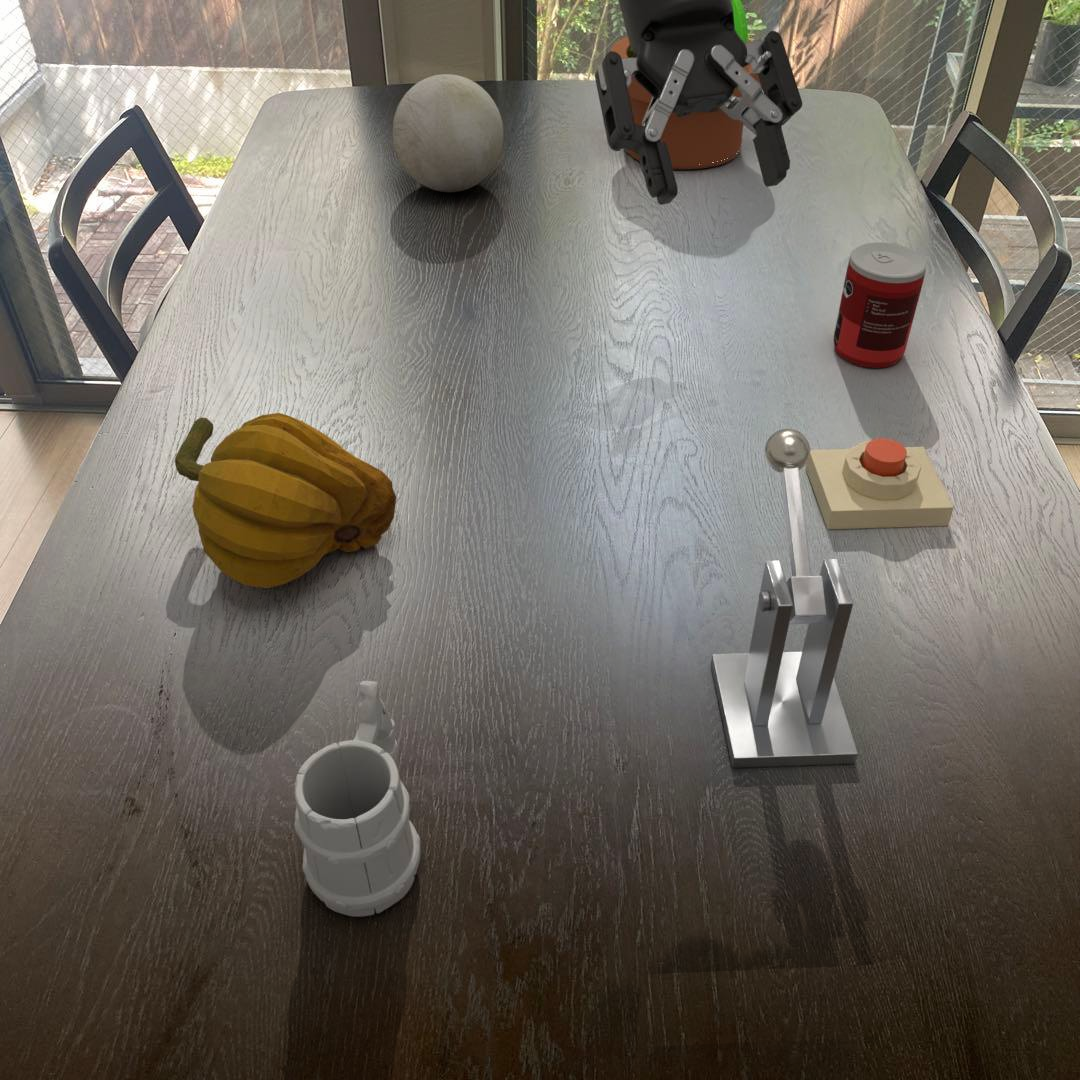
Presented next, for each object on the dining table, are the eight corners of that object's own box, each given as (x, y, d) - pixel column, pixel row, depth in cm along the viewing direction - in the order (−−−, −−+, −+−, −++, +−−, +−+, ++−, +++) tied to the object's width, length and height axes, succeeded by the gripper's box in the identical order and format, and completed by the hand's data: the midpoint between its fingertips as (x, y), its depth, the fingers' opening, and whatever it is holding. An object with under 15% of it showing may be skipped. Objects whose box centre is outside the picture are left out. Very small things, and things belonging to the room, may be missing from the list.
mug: (291, 914, 70) (258, 806, 62) (343, 765, 79) (319, 654, 71) (406, 930, 69) (387, 823, 61) (446, 777, 78) (433, 666, 70)
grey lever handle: (758, 440, 79) (767, 422, 76) (801, 439, 79) (812, 421, 76) (778, 626, 75) (788, 615, 72) (824, 624, 75) (836, 613, 72)
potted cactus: (593, 125, 168) (598, -53, 151) (728, 115, 171) (748, -62, 154) (627, 184, 152) (636, -8, 135) (776, 171, 155) (803, -18, 138)
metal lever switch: (710, 664, 85) (729, 534, 76) (823, 660, 86) (856, 530, 76) (731, 768, 78) (756, 638, 69) (855, 764, 78) (896, 633, 69)
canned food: (859, 324, 124) (879, 234, 116) (918, 352, 119) (943, 261, 112) (816, 347, 120) (834, 256, 113) (876, 378, 115) (898, 285, 108)
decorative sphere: (467, 219, 144) (461, 106, 134) (376, 196, 150) (364, 85, 140) (524, 178, 154) (523, 69, 144) (437, 157, 159) (429, 51, 149)
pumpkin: (342, 651, 89) (108, 572, 88) (391, 541, 103) (187, 471, 101) (379, 524, 81) (122, 435, 80) (426, 422, 95) (206, 344, 93)
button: (896, 452, 100) (900, 437, 99) (907, 477, 97) (912, 461, 96) (857, 453, 100) (861, 438, 98) (868, 478, 97) (871, 462, 96)
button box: (918, 464, 104) (928, 431, 102) (948, 525, 98) (959, 491, 95) (805, 467, 104) (812, 434, 101) (827, 529, 97) (835, 495, 95)
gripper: (588, -52, 71) (650, 185, 71) (779, -71, 75) (838, 154, 75) (559, 11, 78) (614, 226, 78) (733, -10, 82) (787, 196, 82)
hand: (723, 191), depth 76 cm, fingers open, 8 cm apart
